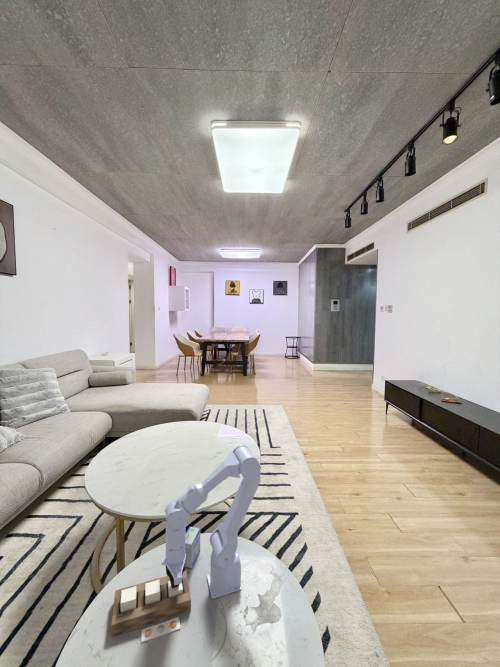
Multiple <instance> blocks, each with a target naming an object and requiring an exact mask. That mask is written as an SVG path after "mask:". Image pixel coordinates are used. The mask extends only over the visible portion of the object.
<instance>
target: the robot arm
mask: <svg viewBox="0 0 500 667" xmlns="http://www.w3.org/2000/svg"><path fill="white" fill-rule="evenodd" d="M261 470H262V465H261V464H260V462H259V460H258V459H257V458H256V457H255V456H254V454H253V453H252V452H251V450H250V448H249V447H248V446H247V445H246V444H239V445H237V446H235V448H234V449H233V450H231V451H230V452H229V453H227V456H226V458H225V459H224V460H223V461H222V462H221V463H220V464H219V466H218V467H217V468H215V469H214V471H212V473H210V474H209V475H208V476H207V477H206V478H205V479H204V480H203V481H202V482H201V483H200V482H199V483H198V482H197V483H196V482H195V484H193V485H190V486H189V487H188V488H187V490H186V492H184V493H183V494H182V495H181V496H180V497H179V498H176V499H174V500H172V501H170V502H169V503H168V504H167V505H166V508H164V513H165V520H166V522H165V523H166V525H165V556H163V557H161V565H162V566H164V565H165V573H166V576H168V577H169V579H170V583H171V587H172V588H175V587H178V586H179V584H181V583H182V574H183V572H184V571H186V568H187V567H186V566H185V560H186V553H185V534H186V525H187V522H188V519H189V518H190V516H191V515H192V514H193V513H194V512H195V511H196V510H197V509H198V508H200V506H201V505H203V504H204V503H205V502H206V501H207V500H208V495H209V493H210V492H212V491H213V490H214V489H215V488H216V487H218V486H219V485H220V484H222V483H223V482H224V481H225V480H226V479H227V480H228V478H229V477H231V478H235V479H236V478H237V479H240V478H241V476H242V480H241V482H240V485H239V486H238V489H237V491H236V494H235V496H234V498H233V500H232V502H231V504H230V507H229V509H228V512H227V514H226V516H225V519H224V520H223V521H222V523H218V524H217V527H216V528H215V529H214V531H213V532H211V534H210V537H209V543H210V545H211V549H212V551H211V554H210V574H207V575H206V578H207V584H208V587H209V593H210V597H211V599H217V598H220V597H223V596H226V595H228V594H230V595H231V594H232V593H235V592H238V591H241V590H242V586H241V583H242V582H241V580H242V578H241V577H242V565H241V564H242V563H241V558H240V555H239V552H238V551H237V548H238V533H239V531H240V529H241V526H242V525H243V524H242V523H244V519H245V518H246V515H247V513H248V510H249V508H250V505H251V504H252V502H253V499H254V497H255V494H256V492H257V490H258V488H259V485H260V483H261ZM240 474H241V476H240Z"/></svg>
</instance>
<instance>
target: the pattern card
mask: <svg viewBox="0 0 500 667" xmlns="http://www.w3.org/2000/svg"><path fill="white" fill-rule="evenodd" d="M180 622H181V621H180V617H179V616H178V617H175V618H172V619H169V620H167V621H164V622H160V623H157V624H155V625H152V626H149V627H145V628H143V629H141V634H140V636H141V637H140V638H141V643H145V642H147V641H150V640H151V641H152V640H154V639H156V638H159V637H162V636H164V635H165V636H166V635H169V634H171V633H173V632H177V631H179V630H181V624H180Z"/></svg>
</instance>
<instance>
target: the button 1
mask: <svg viewBox="0 0 500 667" xmlns="http://www.w3.org/2000/svg"><path fill="white" fill-rule="evenodd" d="M133 609H136V586H135V587H131V588H128V589H124V590H122V592H121V613H123V612H126V611H130V610H133Z"/></svg>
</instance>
